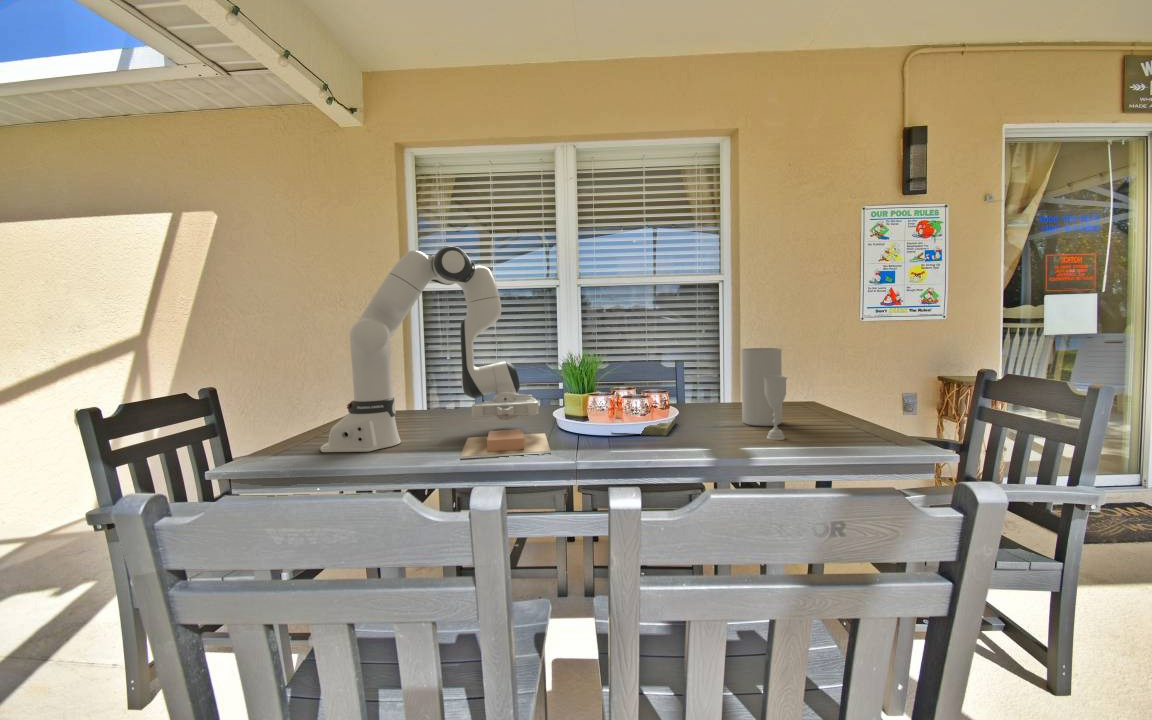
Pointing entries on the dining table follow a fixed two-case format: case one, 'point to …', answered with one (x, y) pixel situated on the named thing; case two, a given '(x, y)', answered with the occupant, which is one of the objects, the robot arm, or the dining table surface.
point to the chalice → (775, 400)
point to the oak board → (479, 447)
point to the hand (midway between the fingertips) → (505, 412)
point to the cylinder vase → (759, 385)
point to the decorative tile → (658, 429)
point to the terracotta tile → (505, 440)
